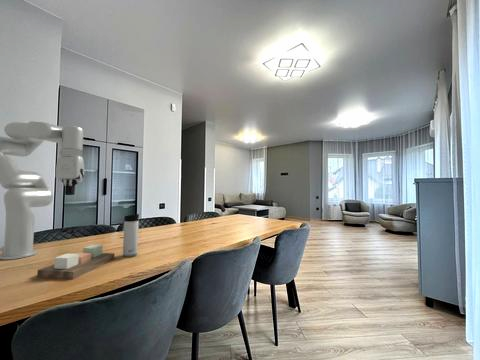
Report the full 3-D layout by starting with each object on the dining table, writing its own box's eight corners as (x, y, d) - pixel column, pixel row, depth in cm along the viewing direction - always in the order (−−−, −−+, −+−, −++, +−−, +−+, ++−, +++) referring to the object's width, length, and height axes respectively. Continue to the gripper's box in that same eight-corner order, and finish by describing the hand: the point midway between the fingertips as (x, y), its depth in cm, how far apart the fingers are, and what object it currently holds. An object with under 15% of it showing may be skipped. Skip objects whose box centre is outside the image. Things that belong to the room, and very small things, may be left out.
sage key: (82, 257, 92) (83, 247, 92) (91, 253, 97) (92, 244, 97) (93, 257, 92) (94, 248, 92) (102, 254, 97) (102, 245, 97)
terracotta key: (69, 266, 86) (69, 256, 86) (79, 262, 91) (80, 252, 91) (81, 267, 85) (81, 256, 85) (90, 262, 90) (91, 253, 90)
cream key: (54, 268, 79) (54, 257, 79) (66, 263, 84) (66, 253, 84) (66, 269, 79) (67, 258, 79) (78, 264, 84) (78, 254, 84)
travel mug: (131, 257, 100) (133, 214, 101) (119, 256, 101) (121, 214, 102) (140, 253, 106) (142, 213, 107) (129, 252, 108) (130, 212, 108)
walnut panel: (37, 276, 78) (37, 269, 78) (85, 257, 99) (86, 252, 100) (73, 279, 76) (73, 271, 76) (114, 258, 98) (114, 253, 98)
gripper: (48, 152, 93) (45, 194, 92) (80, 152, 91) (78, 195, 91) (63, 155, 100) (61, 194, 99) (93, 155, 99) (92, 195, 98)
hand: (69, 194), depth 95 cm, fingers closed
